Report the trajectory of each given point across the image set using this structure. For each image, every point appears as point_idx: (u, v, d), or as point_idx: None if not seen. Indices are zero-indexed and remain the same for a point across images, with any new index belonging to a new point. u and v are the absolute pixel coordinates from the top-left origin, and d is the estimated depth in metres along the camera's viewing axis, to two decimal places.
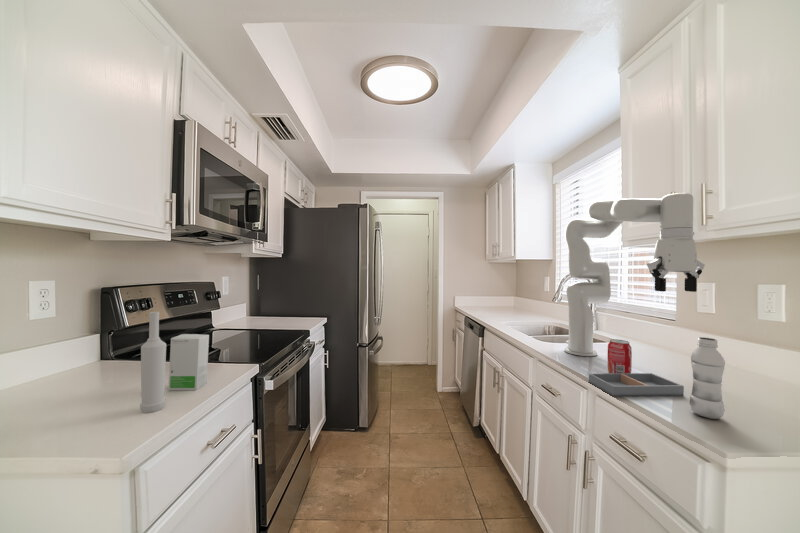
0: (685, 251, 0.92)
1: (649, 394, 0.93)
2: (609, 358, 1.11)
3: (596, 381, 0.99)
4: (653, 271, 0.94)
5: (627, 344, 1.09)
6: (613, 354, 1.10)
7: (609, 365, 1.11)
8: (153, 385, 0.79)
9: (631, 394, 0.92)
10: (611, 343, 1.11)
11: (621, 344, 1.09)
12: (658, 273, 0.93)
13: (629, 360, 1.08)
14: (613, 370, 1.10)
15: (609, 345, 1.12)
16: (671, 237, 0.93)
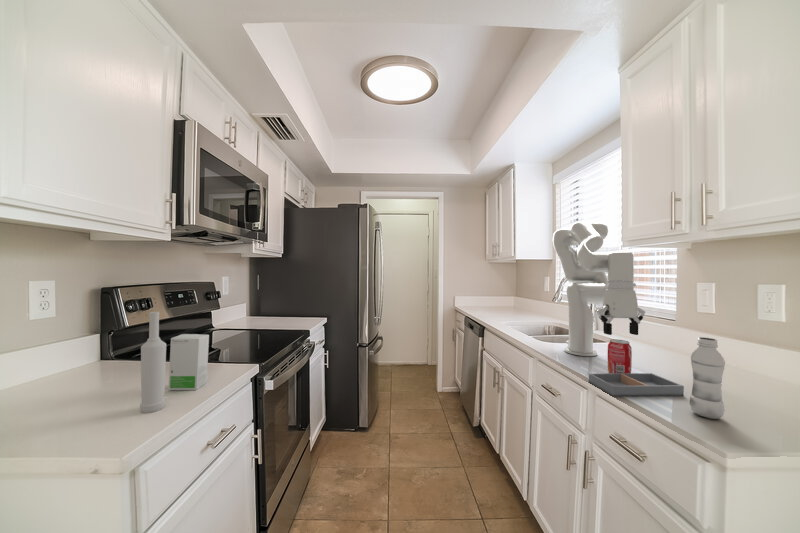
0: (627, 301, 1.08)
1: (649, 394, 0.93)
2: (609, 358, 1.11)
3: (596, 381, 0.99)
4: (601, 317, 1.10)
5: (627, 344, 1.09)
6: (613, 354, 1.10)
7: (609, 365, 1.11)
8: (153, 385, 0.79)
9: (631, 394, 0.92)
10: (611, 343, 1.11)
11: (621, 344, 1.09)
12: (605, 319, 1.10)
13: (629, 360, 1.08)
14: (613, 370, 1.10)
15: (609, 345, 1.12)
16: (615, 288, 1.09)
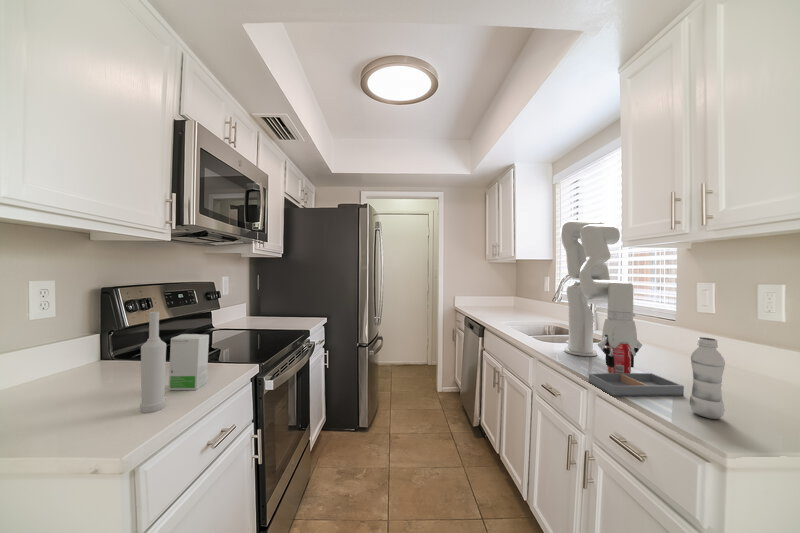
0: (626, 331, 1.09)
1: (649, 394, 0.93)
2: None
3: (596, 381, 0.99)
4: (604, 350, 1.10)
5: (626, 344, 1.08)
6: (613, 354, 1.10)
7: None
8: (153, 385, 0.79)
9: (631, 394, 0.92)
10: None
11: (620, 344, 1.09)
12: (607, 352, 1.10)
13: (629, 360, 1.08)
14: (612, 370, 1.10)
15: (608, 345, 1.12)
16: (615, 319, 1.09)
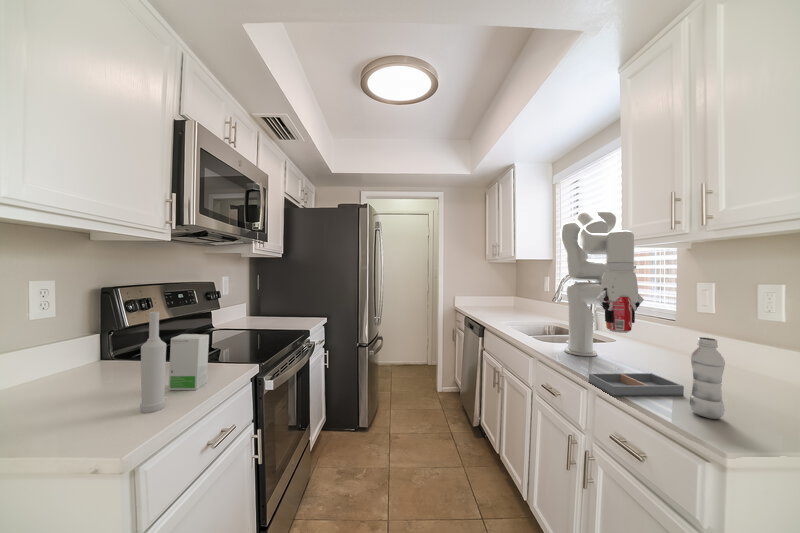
0: (627, 284, 1.01)
1: (649, 394, 0.93)
2: None
3: (596, 381, 0.99)
4: (603, 304, 1.02)
5: (627, 297, 1.01)
6: None
7: None
8: (153, 385, 0.79)
9: (631, 394, 0.92)
10: None
11: (620, 297, 1.01)
12: (606, 306, 1.02)
13: (630, 314, 1.00)
14: (612, 326, 1.02)
15: None
16: (614, 271, 1.01)
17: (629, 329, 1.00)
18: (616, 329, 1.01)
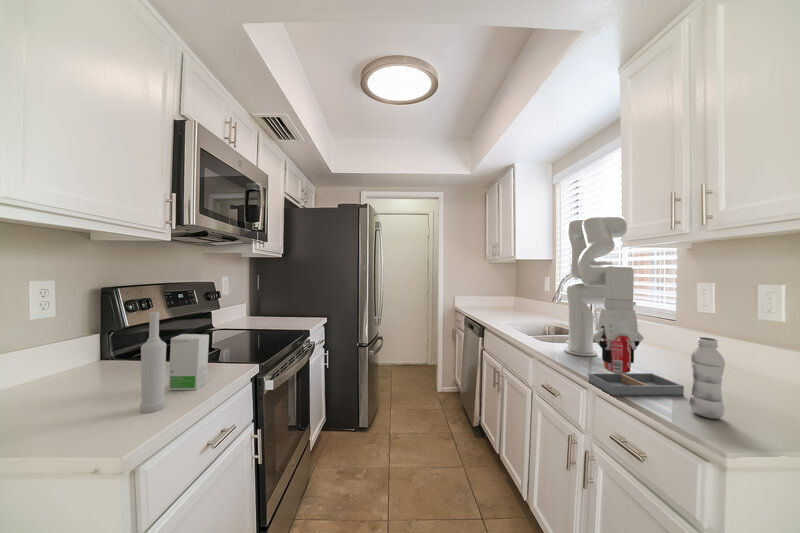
0: (626, 322, 0.95)
1: (649, 394, 0.93)
2: None
3: (596, 381, 0.99)
4: (600, 343, 0.97)
5: (625, 336, 0.95)
6: (610, 347, 0.96)
7: None
8: (153, 385, 0.79)
9: (631, 394, 0.92)
10: None
11: (618, 336, 0.95)
12: (604, 346, 0.97)
13: (628, 355, 0.94)
14: (609, 366, 0.96)
15: (605, 338, 0.98)
16: (612, 308, 0.96)
17: (628, 370, 0.95)
18: (614, 370, 0.95)
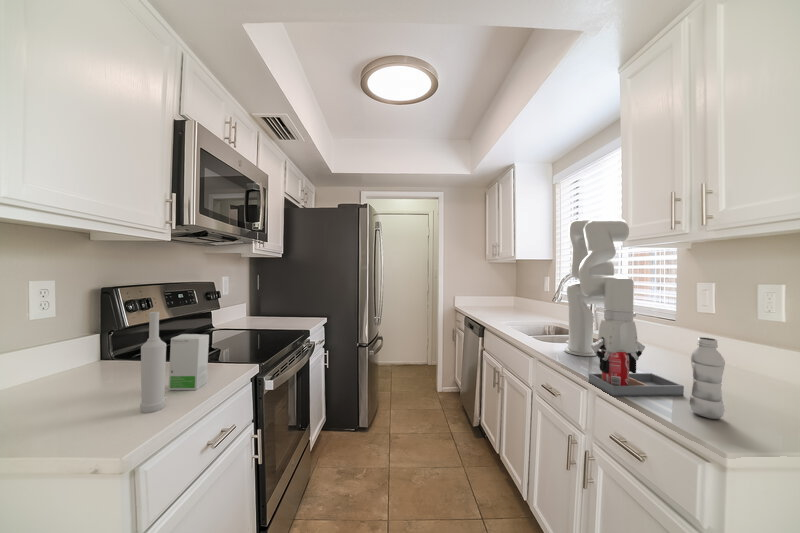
0: (626, 334, 0.95)
1: (649, 394, 0.93)
2: None
3: (596, 381, 0.99)
4: (597, 353, 0.97)
5: (624, 352, 0.95)
6: None
7: (603, 376, 0.98)
8: (153, 385, 0.79)
9: (631, 394, 0.92)
10: None
11: (617, 352, 0.95)
12: (601, 355, 0.97)
13: (626, 371, 0.95)
14: (608, 382, 0.97)
15: None
16: (612, 320, 0.96)
17: None
18: None
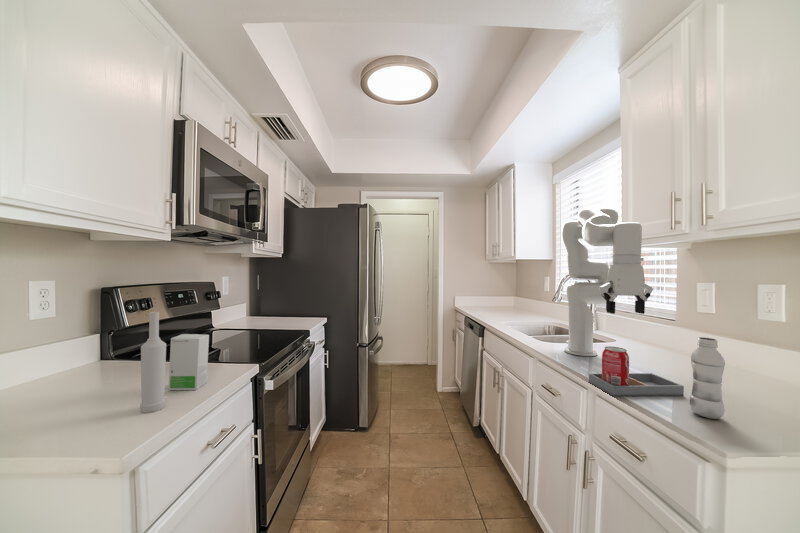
0: (633, 276, 0.99)
1: (649, 394, 0.93)
2: (603, 368, 0.98)
3: (596, 381, 0.99)
4: (604, 295, 1.01)
5: (624, 352, 0.95)
6: (608, 363, 0.97)
7: (603, 376, 0.98)
8: (153, 385, 0.79)
9: (631, 394, 0.92)
10: (606, 351, 0.98)
11: (617, 352, 0.95)
12: (608, 296, 1.01)
13: (626, 371, 0.95)
14: (608, 382, 0.97)
15: (603, 353, 0.99)
16: (620, 263, 0.99)
17: None
18: None
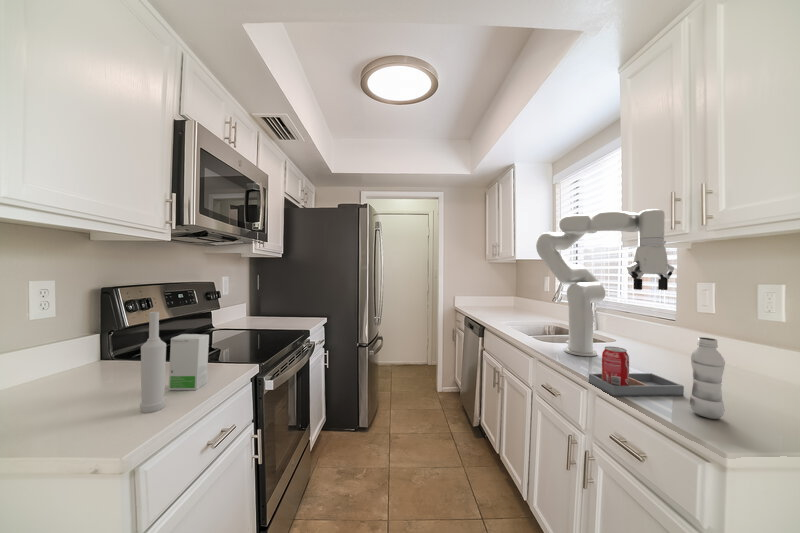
0: (658, 257, 1.13)
1: (649, 394, 0.93)
2: (603, 368, 0.98)
3: (596, 381, 0.99)
4: (632, 273, 1.14)
5: (624, 352, 0.95)
6: (608, 363, 0.96)
7: (603, 376, 0.98)
8: (153, 385, 0.79)
9: (631, 394, 0.92)
10: (606, 351, 0.98)
11: (617, 352, 0.95)
12: (636, 275, 1.14)
13: (626, 371, 0.95)
14: (608, 382, 0.97)
15: (603, 353, 0.99)
16: (646, 245, 1.13)
17: None
18: None
